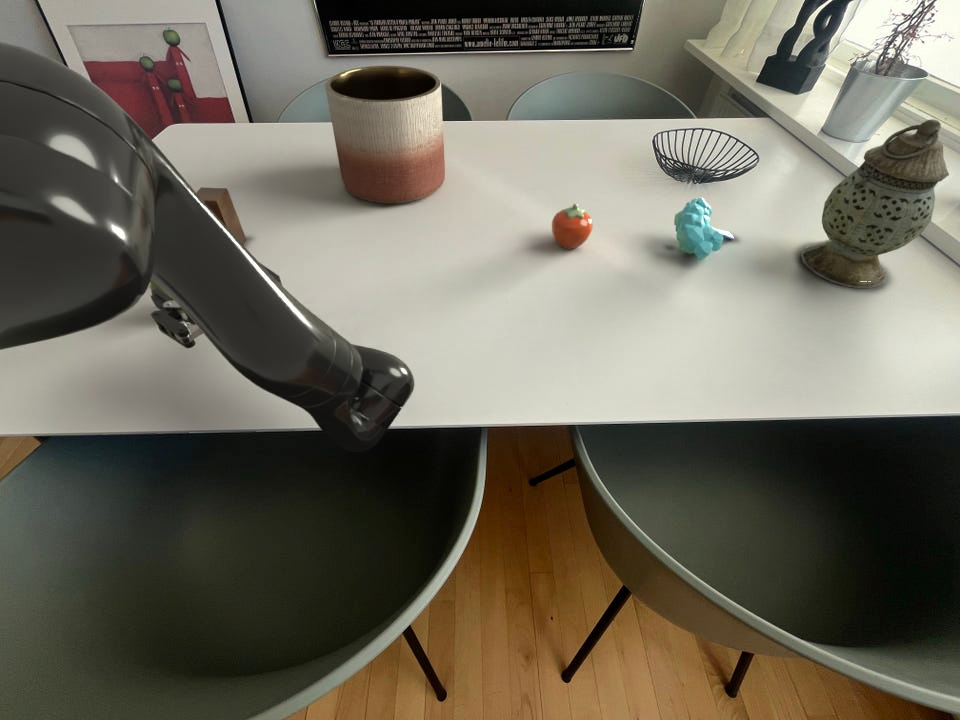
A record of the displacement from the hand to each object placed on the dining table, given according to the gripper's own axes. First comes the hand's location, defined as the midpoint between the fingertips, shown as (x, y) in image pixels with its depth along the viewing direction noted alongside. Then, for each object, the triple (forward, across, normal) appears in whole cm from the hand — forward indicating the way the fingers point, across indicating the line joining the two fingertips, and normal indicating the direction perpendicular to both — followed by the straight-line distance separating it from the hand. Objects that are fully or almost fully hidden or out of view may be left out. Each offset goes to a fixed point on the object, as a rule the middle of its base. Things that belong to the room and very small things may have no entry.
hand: (189, 279), depth 62 cm
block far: (+20, -15, +11) cm, 28 cm away
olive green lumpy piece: (+10, 0, +11) cm, 15 cm away
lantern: (-70, -79, +10) cm, 106 cm away
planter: (+14, -52, +11) cm, 55 cm away
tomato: (-28, -55, +10) cm, 62 cm away
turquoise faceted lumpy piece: (-47, -68, +10) cm, 84 cm away
